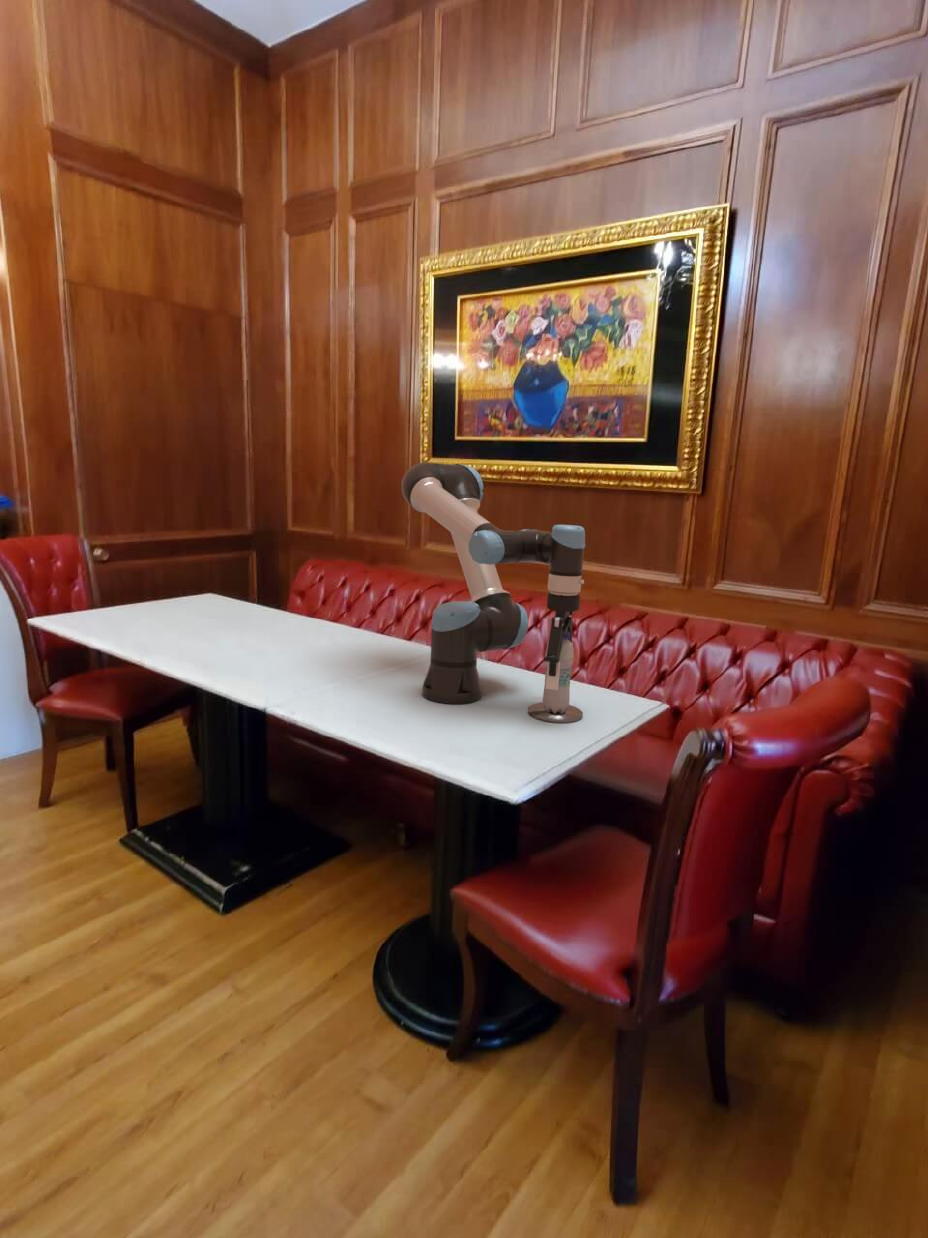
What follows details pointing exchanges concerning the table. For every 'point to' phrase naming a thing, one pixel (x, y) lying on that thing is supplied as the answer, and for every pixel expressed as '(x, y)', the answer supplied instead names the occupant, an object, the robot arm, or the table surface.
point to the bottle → (560, 680)
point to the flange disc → (567, 717)
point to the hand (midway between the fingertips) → (557, 681)
